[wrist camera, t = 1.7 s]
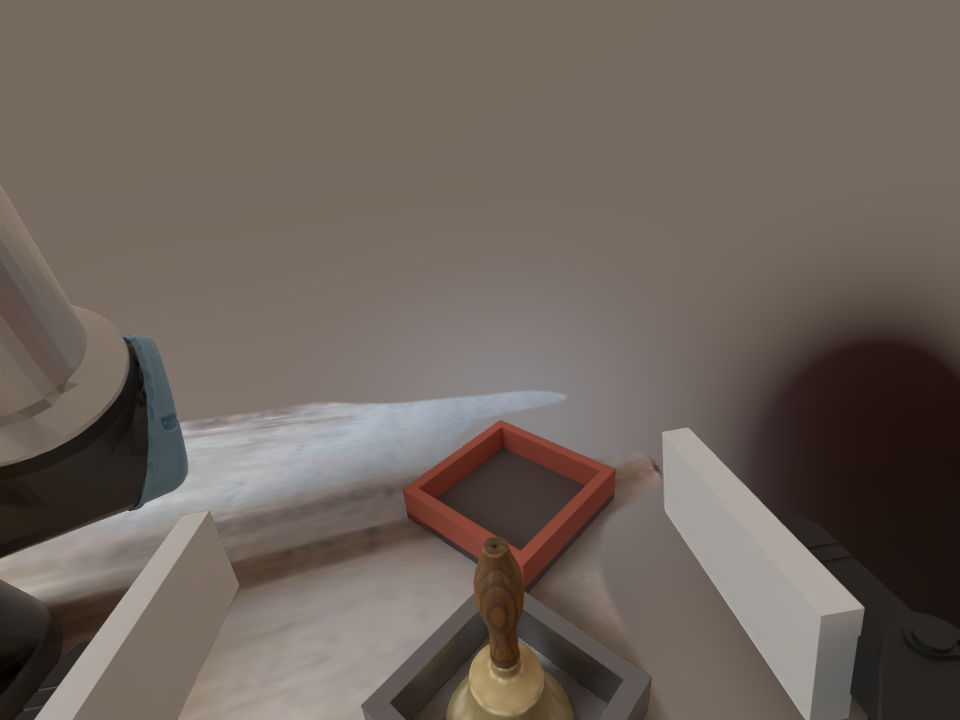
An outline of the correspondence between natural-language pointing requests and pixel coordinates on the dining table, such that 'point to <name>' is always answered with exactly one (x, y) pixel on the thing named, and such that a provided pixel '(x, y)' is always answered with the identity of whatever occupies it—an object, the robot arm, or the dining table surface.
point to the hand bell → (505, 652)
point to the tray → (511, 497)
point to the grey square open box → (536, 627)
